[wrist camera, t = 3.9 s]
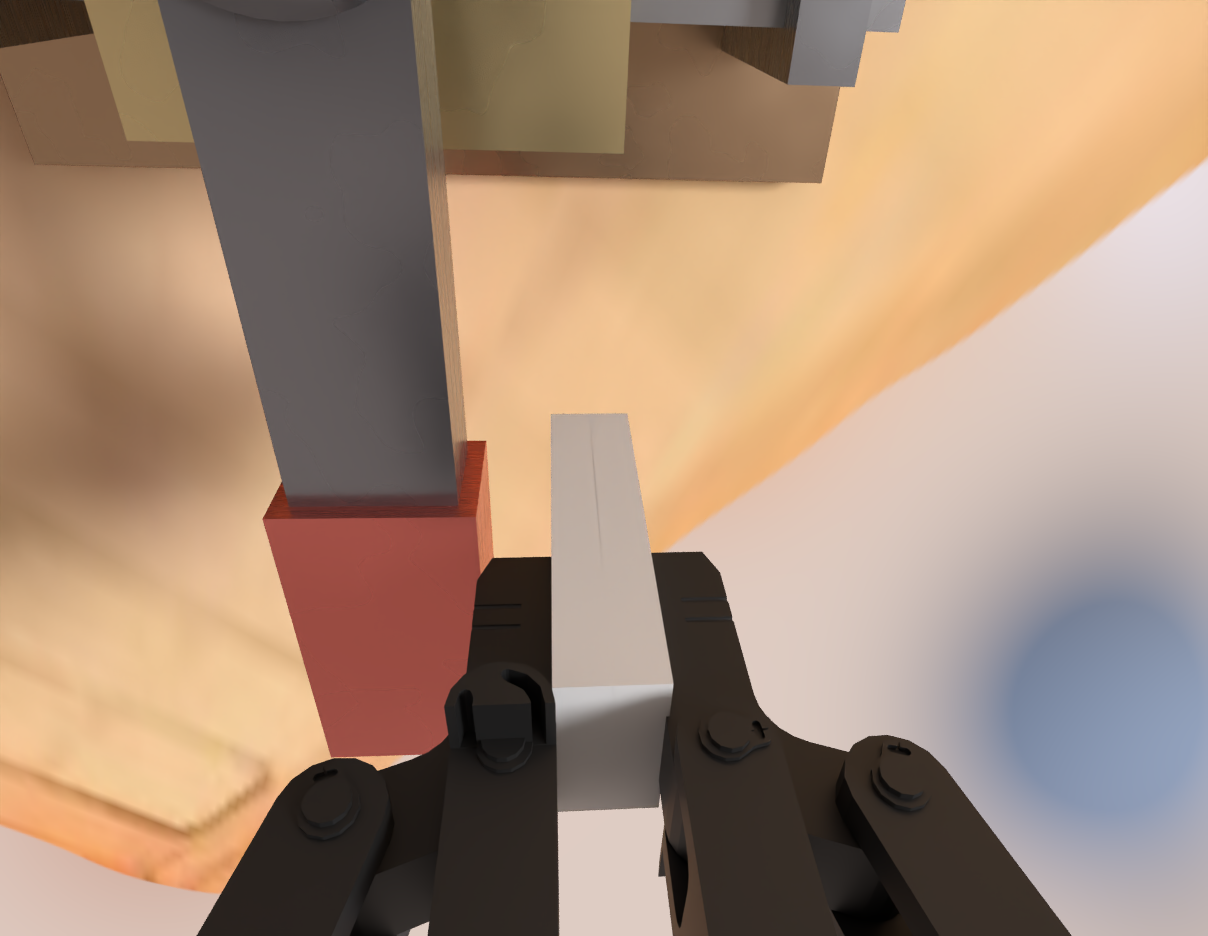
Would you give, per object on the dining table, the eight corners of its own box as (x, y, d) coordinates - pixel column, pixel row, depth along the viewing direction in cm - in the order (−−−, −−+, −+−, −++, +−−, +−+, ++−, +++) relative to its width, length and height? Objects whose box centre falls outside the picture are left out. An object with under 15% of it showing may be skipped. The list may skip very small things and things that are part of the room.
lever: (42, -495, 7) (-135, -656, 5) (469, -460, 7) (443, -598, 5) (337, 669, 16) (310, 757, 14) (518, 665, 17) (514, 751, 15)
